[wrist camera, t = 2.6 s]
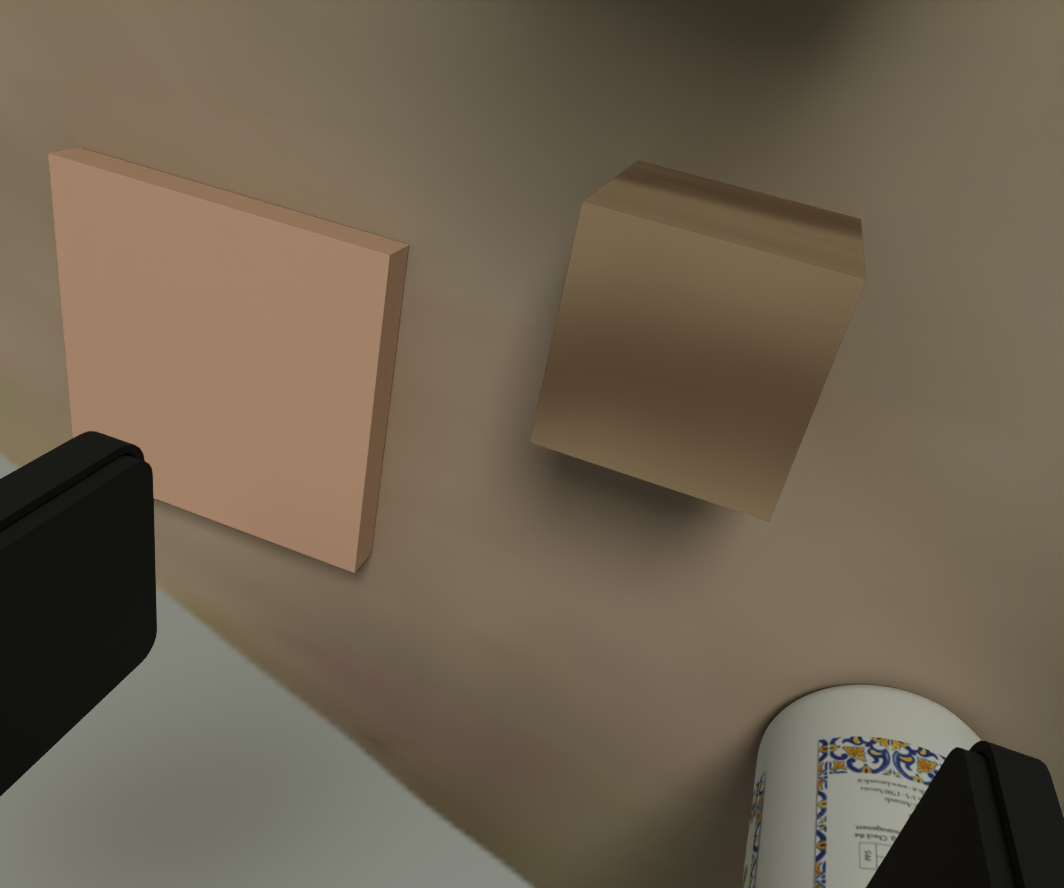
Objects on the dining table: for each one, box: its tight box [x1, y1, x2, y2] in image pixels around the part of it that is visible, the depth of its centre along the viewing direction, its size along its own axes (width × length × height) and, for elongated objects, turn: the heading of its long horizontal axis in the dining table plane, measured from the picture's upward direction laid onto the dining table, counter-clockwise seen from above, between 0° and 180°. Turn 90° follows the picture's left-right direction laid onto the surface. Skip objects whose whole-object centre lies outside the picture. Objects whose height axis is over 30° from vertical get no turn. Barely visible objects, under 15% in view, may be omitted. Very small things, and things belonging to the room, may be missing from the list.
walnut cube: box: [530, 161, 866, 522], centre depth 20 cm, size 6×6×6 cm
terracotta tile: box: [48, 148, 409, 573], centre depth 27 cm, size 11×11×1 cm
